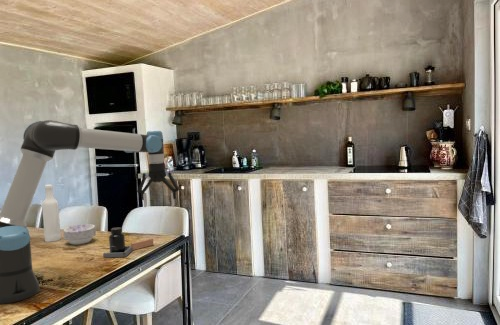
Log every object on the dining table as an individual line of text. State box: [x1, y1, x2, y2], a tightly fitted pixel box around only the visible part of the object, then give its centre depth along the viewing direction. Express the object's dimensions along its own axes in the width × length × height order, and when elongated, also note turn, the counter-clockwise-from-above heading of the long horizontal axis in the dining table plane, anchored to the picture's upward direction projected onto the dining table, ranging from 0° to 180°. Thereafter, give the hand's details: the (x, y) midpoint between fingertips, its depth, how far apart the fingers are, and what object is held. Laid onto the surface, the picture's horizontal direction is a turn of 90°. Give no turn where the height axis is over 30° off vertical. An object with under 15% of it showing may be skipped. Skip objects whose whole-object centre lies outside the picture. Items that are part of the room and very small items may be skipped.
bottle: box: [41, 184, 62, 243], centre depth 208 cm, size 8×8×30 cm
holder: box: [102, 238, 155, 258], centre depth 183 cm, size 19×18×3 cm
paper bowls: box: [63, 223, 97, 246], centre depth 202 cm, size 15×15×8 cm
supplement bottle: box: [108, 226, 126, 253], centre depth 179 cm, size 7×7×12 cm
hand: (159, 206), depth 189 cm, fingers open, 13 cm apart
